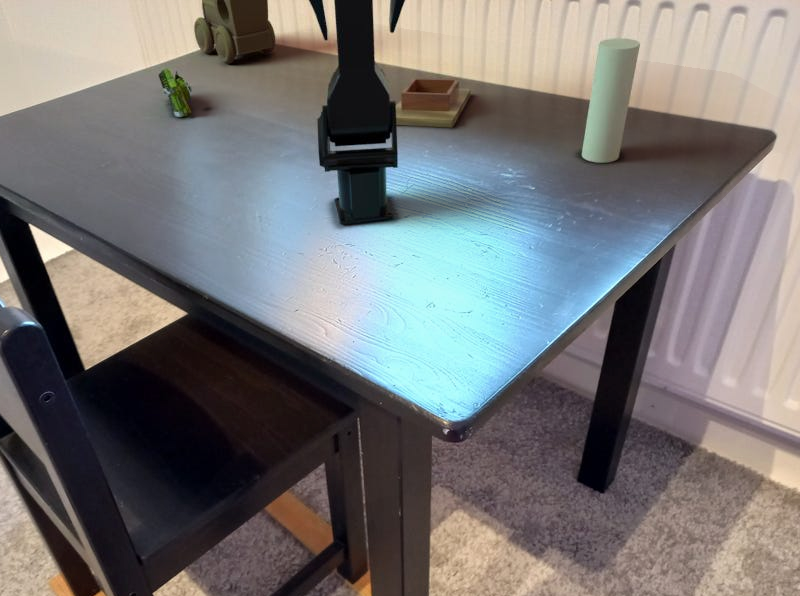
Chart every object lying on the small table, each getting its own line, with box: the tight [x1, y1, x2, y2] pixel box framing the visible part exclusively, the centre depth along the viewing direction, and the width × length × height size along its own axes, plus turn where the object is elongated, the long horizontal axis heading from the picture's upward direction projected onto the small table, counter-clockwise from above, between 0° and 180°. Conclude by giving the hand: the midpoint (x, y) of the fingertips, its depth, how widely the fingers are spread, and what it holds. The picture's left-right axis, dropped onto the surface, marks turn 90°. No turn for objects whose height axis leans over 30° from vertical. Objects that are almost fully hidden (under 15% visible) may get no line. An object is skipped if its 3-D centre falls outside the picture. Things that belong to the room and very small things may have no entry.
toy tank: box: [158, 68, 193, 118], centre depth 123 cm, size 7×19×10 cm
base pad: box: [396, 77, 472, 129], centre depth 110 cm, size 14×10×4 cm
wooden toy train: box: [193, 0, 276, 65], centre depth 141 cm, size 20×11×17 cm, turn 31°
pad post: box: [581, 37, 641, 164], centre depth 88 cm, size 5×5×14 cm
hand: (358, 36), depth 97 cm, fingers open, 9 cm apart
